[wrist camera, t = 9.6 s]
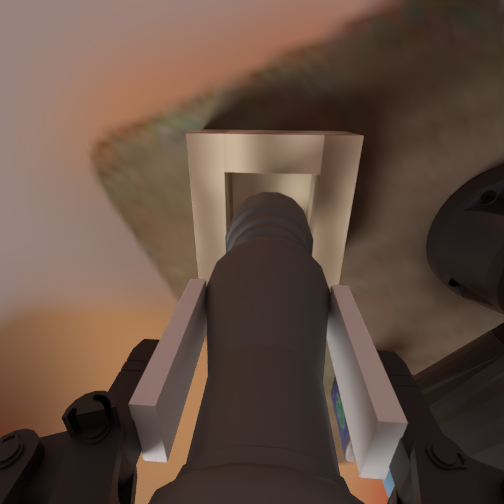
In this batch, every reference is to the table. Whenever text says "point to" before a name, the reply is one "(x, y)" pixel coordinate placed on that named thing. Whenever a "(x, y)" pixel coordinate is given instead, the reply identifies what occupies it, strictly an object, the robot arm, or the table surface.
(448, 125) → the table surface
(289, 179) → the socket block
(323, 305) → the candle holder
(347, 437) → the flask
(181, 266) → the table surface
